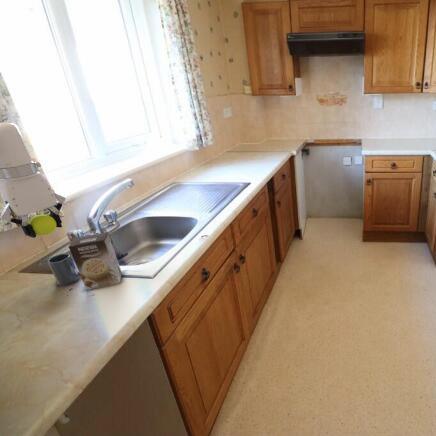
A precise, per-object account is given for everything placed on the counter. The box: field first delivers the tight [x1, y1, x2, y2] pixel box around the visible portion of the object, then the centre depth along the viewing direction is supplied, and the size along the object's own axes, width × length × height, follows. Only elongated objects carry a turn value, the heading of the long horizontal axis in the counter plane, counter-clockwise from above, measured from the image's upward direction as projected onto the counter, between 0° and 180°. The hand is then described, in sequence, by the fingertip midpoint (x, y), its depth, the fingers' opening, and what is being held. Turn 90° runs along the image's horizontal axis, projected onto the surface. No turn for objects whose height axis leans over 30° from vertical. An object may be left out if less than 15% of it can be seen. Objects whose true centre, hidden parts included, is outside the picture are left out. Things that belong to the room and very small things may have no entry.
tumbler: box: [47, 253, 81, 287], centre depth 101 cm, size 6×6×9 cm
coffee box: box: [68, 231, 123, 291], centre depth 98 cm, size 9×6×16 cm
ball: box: [28, 213, 57, 236], centre depth 92 cm, size 6×6×6 cm
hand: (45, 231), depth 93 cm, fingers closed on ball, 5 cm apart
